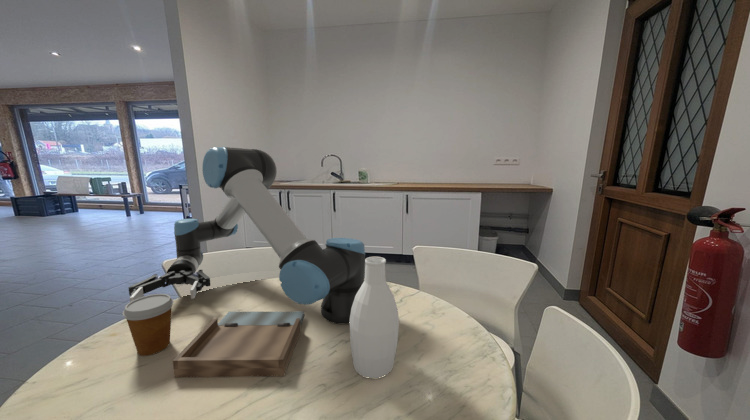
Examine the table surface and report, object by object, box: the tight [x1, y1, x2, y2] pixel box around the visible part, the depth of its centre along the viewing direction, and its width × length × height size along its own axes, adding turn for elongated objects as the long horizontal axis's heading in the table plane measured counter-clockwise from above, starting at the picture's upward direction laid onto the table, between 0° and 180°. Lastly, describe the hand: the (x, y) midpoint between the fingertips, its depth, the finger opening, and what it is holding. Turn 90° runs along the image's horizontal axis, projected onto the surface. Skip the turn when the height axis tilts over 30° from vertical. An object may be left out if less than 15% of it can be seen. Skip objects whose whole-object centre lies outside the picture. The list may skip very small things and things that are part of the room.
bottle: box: [349, 255, 400, 378], centre depth 61 cm, size 11×11×25 cm
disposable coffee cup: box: [122, 293, 175, 357], centre depth 67 cm, size 10×10×12 cm
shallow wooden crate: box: [172, 310, 305, 378], centre depth 70 cm, size 23×23×4 cm
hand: (163, 298), depth 76 cm, fingers open, 13 cm apart
